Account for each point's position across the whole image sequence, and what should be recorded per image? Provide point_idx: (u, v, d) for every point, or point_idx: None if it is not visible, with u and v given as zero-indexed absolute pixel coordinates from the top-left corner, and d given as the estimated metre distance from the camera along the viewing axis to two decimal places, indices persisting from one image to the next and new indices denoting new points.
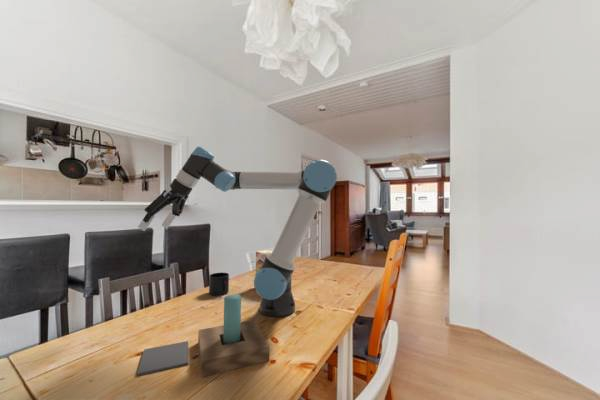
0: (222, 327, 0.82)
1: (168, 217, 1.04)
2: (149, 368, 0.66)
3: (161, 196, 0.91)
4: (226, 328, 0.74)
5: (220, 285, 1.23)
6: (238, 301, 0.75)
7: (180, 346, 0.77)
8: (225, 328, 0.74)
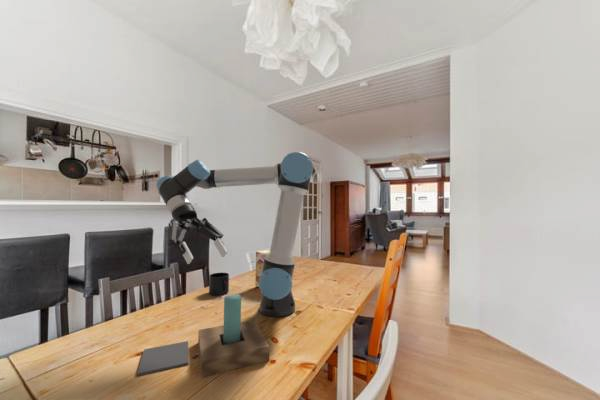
0: (222, 327, 0.82)
1: (217, 245, 0.89)
2: (149, 368, 0.66)
3: (170, 227, 0.81)
4: (226, 328, 0.74)
5: (220, 285, 1.23)
6: (238, 301, 0.75)
7: (180, 346, 0.77)
8: (225, 328, 0.74)
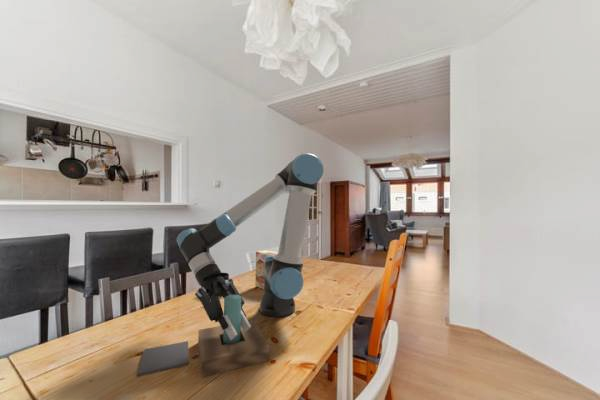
0: None
1: None
2: (149, 368, 0.66)
3: (201, 298, 0.74)
4: None
5: None
6: (238, 301, 0.75)
7: (180, 346, 0.77)
8: None
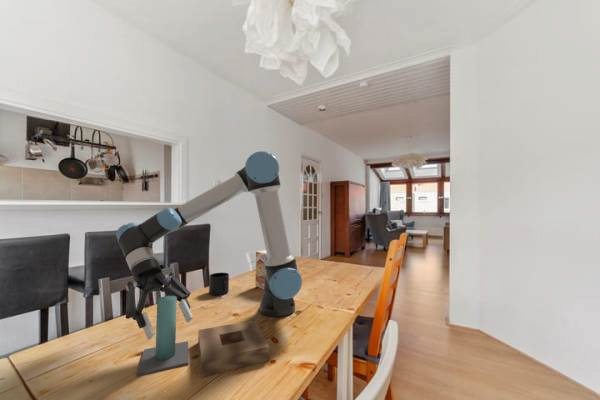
0: (222, 327, 0.82)
1: (182, 308, 0.77)
2: (149, 368, 0.66)
3: (127, 293, 0.70)
4: (158, 331, 0.70)
5: (220, 285, 1.23)
6: (172, 302, 0.72)
7: (180, 346, 0.77)
8: (157, 331, 0.70)
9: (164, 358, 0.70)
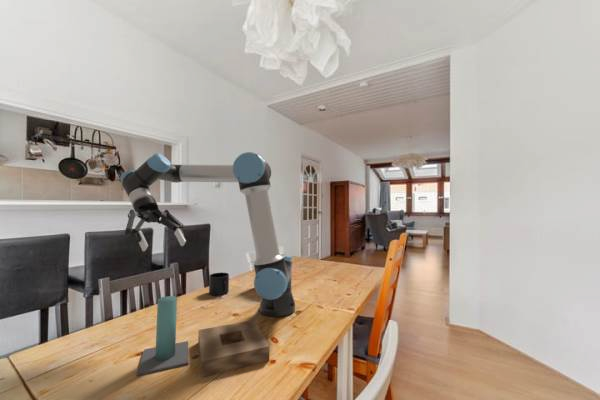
0: (222, 327, 0.82)
1: (177, 235, 0.94)
2: (149, 368, 0.66)
3: (129, 218, 0.86)
4: (158, 331, 0.70)
5: (220, 285, 1.23)
6: (172, 303, 0.71)
7: (180, 346, 0.77)
8: (157, 331, 0.70)
9: (164, 358, 0.70)
